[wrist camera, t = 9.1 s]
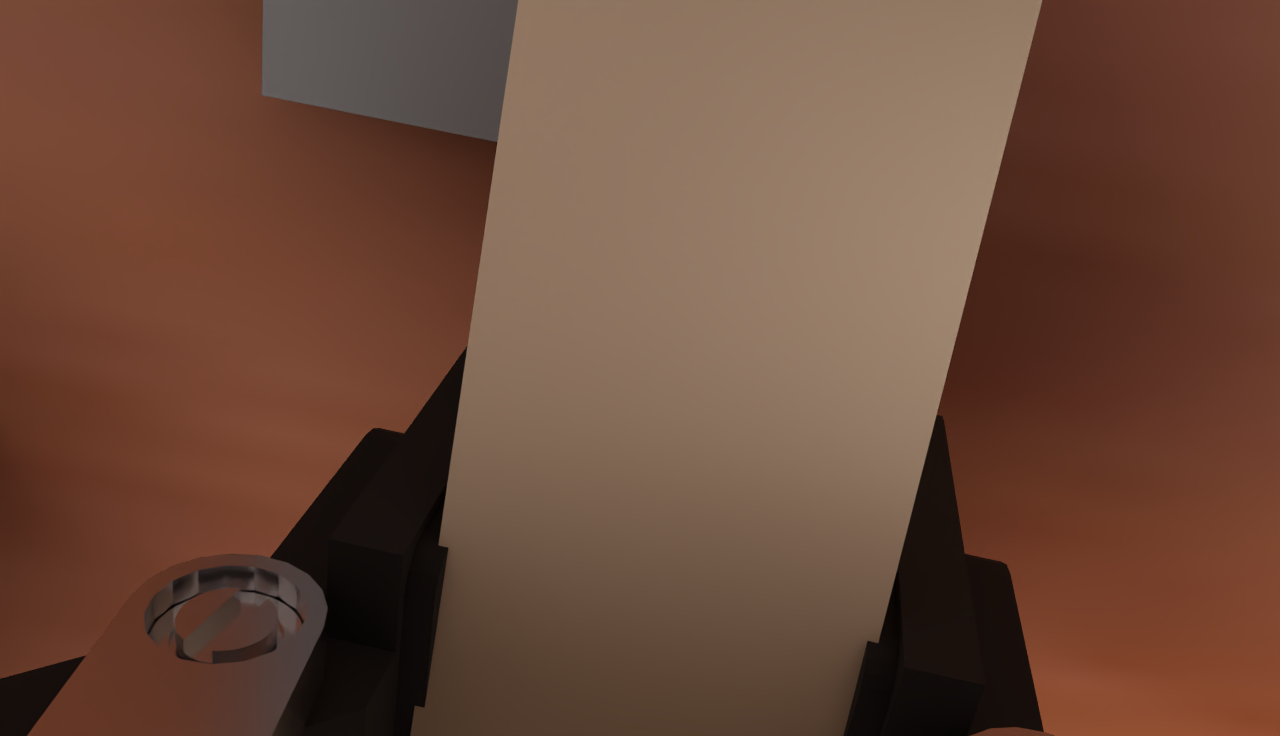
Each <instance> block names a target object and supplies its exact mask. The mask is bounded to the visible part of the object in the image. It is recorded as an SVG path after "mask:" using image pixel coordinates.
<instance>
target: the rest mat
mask: <svg viewBox="0 0 1280 736" xmlns="http://www.w3.org/2000/svg"><path fill="white" fill-rule="evenodd" d="M517 6H518V0H263V40H262V95H263V96H268V97H273V98H278V99H283V100H288V101H293V102H298V103H303V104H308V105H313V106H318V107H323V108H328V109H333V110H338V111H343V112H348V113H354V114H359V115H364V116H369V117H374V118H379V119H384V120H389V121H394V122H399V123H404V124H409V125H414V126H419V127H424V128H429V129H434V130H439V131H444V132H449V133H454V134H459V135H464V136H469V137H474V138H479V139H484V140H489V141H494V142H498V135H499V129H500V122H501V115H502V108H503V101H504V94H505V88H506V81H507V74H508V67H509V60H510V54H511V47H512V40H513V33H514V26H515V20H516V13H517Z"/></svg>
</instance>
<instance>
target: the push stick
mask: <svg viewBox="0 0 1280 736" xmlns="http://www.w3.org/2000/svg"><path fill="white" fill-rule="evenodd" d="M1041 4H1042V0H518V6H517V13H516V20H515V26H514V33H513V40H512V47H511V54H510V60H509V67H508V74H507V81H506V88H505V94H504V101H503V108H502V115H501V122H500V129H499V135H498V142H497V149H496V156H495V163H494V169H493V176H492V183H491V190H490V197H489V204H488V210H487V217H486V224H485V231H484V238H483V244H482V251H481V258H480V265H479V272H478V279H477V285H476V292H475V299H474V306H473V313H472V319H471V326H470V333H469V340H468V347H467V353H466V360H465V367H464V374H463V381H462V388H461V394H460V401H459V408H458V415H457V422H456V428H455V435H454V442H453V449H452V456H451V463H450V469H449V476H448V483H447V490H446V497H445V503H444V510H443V517H442V524H441V531H440V538H439V544H438V545H439V546H443V547H448V555H447V561H446V568H445V575H444V581H443V588H442V595H441V602H440V608H439V615H438V622H437V628H436V635H435V642H434V649H433V655H432V662H431V669H430V675H429V682H428V689H427V695H426V702H425V708H423V707H419V706H415V708H414V715H413V722H412V728H411V735H410V736H844V732H845V728H846V724H847V720H848V716H849V712H850V708H851V704H852V700H853V696H854V692H855V688H856V684H857V680H858V676H859V672H860V668H861V665H862V661H863V657H864V653H865V649H866V645H867V641H871V642H876V643H878V642H879V638H880V634H881V630H882V627H883V623H884V619H885V615H886V611H887V607H888V603H889V599H890V595H891V591H892V587H893V583H894V580H895V576H896V572H897V568H898V564H899V560H900V556H901V552H902V548H903V544H904V540H905V536H906V533H907V529H908V525H909V521H910V517H911V513H912V509H913V505H914V501H915V497H916V493H917V489H918V486H919V482H920V478H921V474H922V470H923V466H924V462H925V458H926V454H927V450H928V446H929V442H930V439H931V435H932V431H933V427H934V423H935V419H936V415H937V411H938V407H939V403H940V399H941V395H942V392H943V388H944V384H945V380H946V376H947V372H948V368H949V364H950V360H951V356H952V352H953V348H954V345H955V341H956V337H957V333H958V329H959V325H960V321H961V317H962V313H963V309H964V305H965V301H966V298H967V294H968V290H969V286H970V282H971V278H972V274H973V270H974V266H975V262H976V258H977V255H978V251H979V247H980V243H981V239H982V235H983V231H984V227H985V223H986V219H987V215H988V211H989V208H990V204H991V200H992V196H993V192H994V188H995V184H996V180H997V176H998V172H999V168H1000V164H1001V161H1002V157H1003V153H1004V149H1005V145H1006V141H1007V137H1008V133H1009V129H1010V125H1011V121H1012V117H1013V114H1014V110H1015V106H1016V102H1017V98H1018V94H1019V90H1020V86H1021V82H1022V78H1023V74H1024V70H1025V67H1026V63H1027V59H1028V55H1029V51H1030V47H1031V43H1032V39H1033V35H1034V31H1035V27H1036V23H1037V20H1038V16H1039V12H1040V8H1041Z"/></svg>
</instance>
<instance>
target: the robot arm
mask: <svg viewBox="0 0 1280 736" xmlns="http://www.w3.org/2000/svg"><path fill="white" fill-rule="evenodd" d="M467 347H468V346H467ZM467 347H466V349H465V350H464V351H463V353H462V354H461V356H460V357H459V358H458V360H457V361H456V363H455V364H454V365H453V367H452V368H451V369H450V371H449V372H448V374H447V375H446V376H445V378H444V379H443V381H442V382H441V383H440V385H439V386H438V388H437V389H436V390H435V392H434V393H433V395H432V396H431V397H430V399H429V400H428V402H427V403H426V404H425V406H424V407H423V408H422V410H421V411H420V413H419V414H418V415H417V417H416V418H415V420H414V421H413V422H412V424H411V425H410V427H409V428H408V429H407V431H406V432H405V434H404V433H399V432H395V431H390V430H385V429H381V428H373V429H372V430H371V431H370V432H369V433H368V434H366V435H365V437H364V438H363V439H362V441H361V442H360V443H359V444H358V446H357V447H356V448H355V450H354V451H353V452H352V453H351V455H350V456H349V457H348V459H347V460H346V461H345V462H344V464H343V465H342V466H341V468H340V469H339V470H338V471H337V473H336V474H335V475H334V476H333V478H332V479H331V480H330V482H329V483H328V484H327V485H326V487H325V488H324V489H323V491H322V492H321V493H320V494H319V496H318V497H317V498H316V500H315V501H314V502H313V503H312V505H311V506H310V507H309V509H308V510H307V511H306V512H305V514H304V515H303V516H302V518H301V519H300V520H299V521H298V523H297V524H296V525H295V527H294V528H293V529H292V530H291V532H290V533H289V534H288V536H287V537H286V538H285V539H284V541H283V542H282V543H281V545H280V546H279V547H278V548H277V550H276V551H275V552H274V554H273V555H272V556H271V557H270V558H268V557H264V556H259V555H244V554H224V555H215V556H207V557H200V558H197V559H193V560H190V561H187V562H183V563H180V564H177V565H173V566H171V567H169V568H168V569H166V570H164V571H162V572H160V573H158V574H156V575H155V576H153V577H151V578H149V579H148V580H147V581H146V582H144V583H143V584H142V585H141V586H140V587H139V588H138V589H137V590H136V591H135V592H134V593H133V594H132V595H131V596H130V597H129V598H128V600H127V601H126V603H125V604H124V605H123V607H122V608H121V609H120V611H119V612H118V613H117V615H116V616H115V617H114V619H113V620H112V621H111V623H110V624H109V626H108V627H107V628H106V630H105V631H104V632H103V634H102V635H101V636H100V638H99V639H98V640H97V642H96V643H95V644H94V646H93V647H92V648H91V650H90V651H89V653H88V654H87V655H86V656H82V657H79V658H75V659H71V660H68V661H64V662H60V663H57V664H53V665H49V666H46V667H42V668H38V669H35V670H31V671H27V672H24V673H20V674H16V675H13V676H9V677H5V678H2V679H0V736H410V735H411V728H412V722H413V715H414V708H415V706H419V707H423V708H425V702H426V695H427V689H428V682H429V675H430V669H431V662H432V655H433V649H434V642H435V635H436V628H437V622H438V615H439V608H440V602H441V595H442V588H443V581H444V575H445V568H446V561H447V555H448V547H443V546H439V545H438V544H439V538H440V531H441V524H442V517H443V510H444V503H445V497H446V490H447V483H448V476H449V469H450V463H451V456H452V449H453V442H454V435H455V428H456V422H457V415H458V408H459V401H460V394H461V388H462V381H463V374H464V367H465V360H466V353H467ZM844 736H1054V735H1052V734H1049V733H1046V732H1044V730H1043V726H1042V721H1041V716H1040V712H1039V707H1038V702H1037V697H1036V693H1035V688H1034V683H1033V679H1032V674H1031V669H1030V665H1029V660H1028V655H1027V650H1026V646H1025V641H1024V636H1023V632H1022V627H1021V622H1020V618H1019V613H1018V608H1017V603H1016V599H1015V594H1014V589H1013V585H1012V580H1011V575H1010V572H1009V570H1008V567H1007V565H1006V564H1004V563H1003V562H1000V561H995V560H991V559H986V558H981V557H977V556H972V555H967V554H965V553H964V546H963V540H962V534H961V527H960V521H959V515H958V508H957V502H956V495H955V489H954V483H953V476H952V470H951V463H950V457H949V451H948V444H947V438H946V432H945V425H944V420H943V417H942V416H939V415H936V419H935V423H934V427H933V431H932V435H931V439H930V442H929V446H928V450H927V454H926V458H925V462H924V466H923V470H922V474H921V478H920V482H919V486H918V489H917V493H916V497H915V501H914V505H913V509H912V513H911V517H910V521H909V525H908V529H907V533H906V536H905V540H904V544H903V548H902V552H901V556H900V560H899V564H898V568H897V572H896V576H895V580H894V583H893V587H892V591H891V595H890V599H889V603H888V607H887V611H886V615H885V619H884V623H883V627H882V630H881V634H880V638H879V642H878V643H876V642H871V641H867V645H866V649H865V653H864V657H863V661H862V665H861V668H860V672H859V676H858V680H857V684H856V688H855V692H854V696H853V700H852V704H851V708H850V712H849V716H848V720H847V724H846V728H845V732H844Z"/></svg>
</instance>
